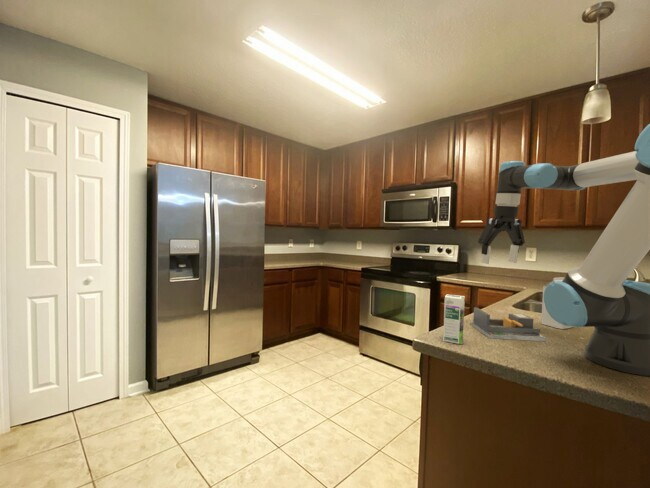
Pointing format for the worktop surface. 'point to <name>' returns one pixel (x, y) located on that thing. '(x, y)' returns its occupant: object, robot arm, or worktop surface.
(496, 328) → the gauge bed
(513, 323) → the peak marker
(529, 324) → the grey block
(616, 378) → the worktop surface
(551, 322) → the milk carton
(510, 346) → the worktop surface
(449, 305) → the syrup box
